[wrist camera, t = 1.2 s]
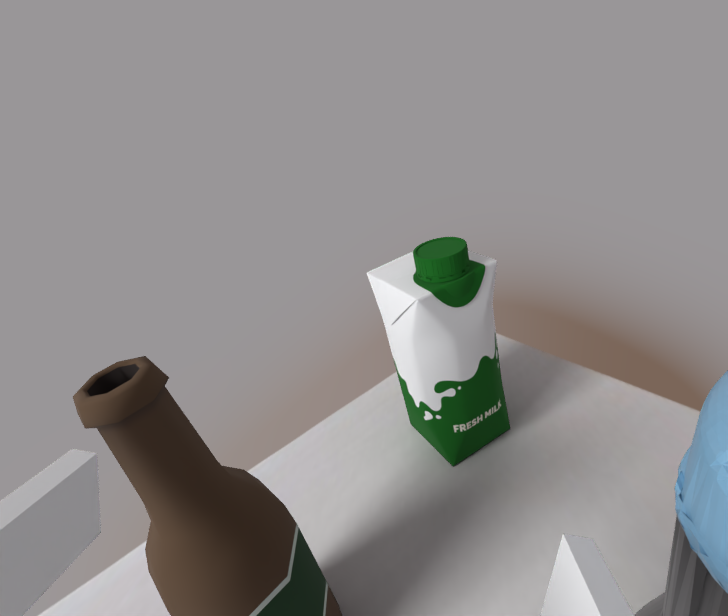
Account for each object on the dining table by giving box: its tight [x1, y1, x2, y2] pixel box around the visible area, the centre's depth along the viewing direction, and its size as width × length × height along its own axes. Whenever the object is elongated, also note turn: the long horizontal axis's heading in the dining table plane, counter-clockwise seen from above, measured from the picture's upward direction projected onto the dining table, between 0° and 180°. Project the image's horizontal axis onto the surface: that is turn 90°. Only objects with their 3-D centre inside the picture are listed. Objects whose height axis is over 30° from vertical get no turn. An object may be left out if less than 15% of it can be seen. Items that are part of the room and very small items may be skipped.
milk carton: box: [367, 237, 510, 466], centre depth 38 cm, size 9×9×20 cm
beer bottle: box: [73, 356, 342, 616], centre depth 23 cm, size 8×8×24 cm
